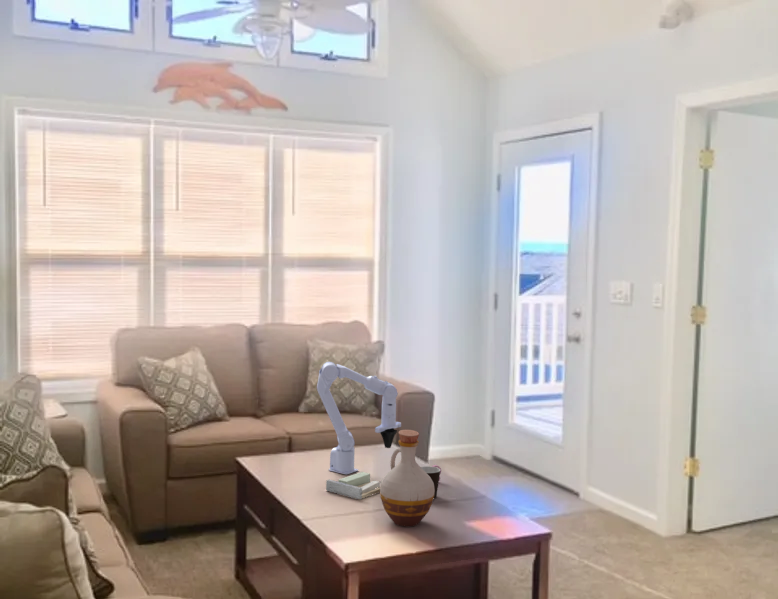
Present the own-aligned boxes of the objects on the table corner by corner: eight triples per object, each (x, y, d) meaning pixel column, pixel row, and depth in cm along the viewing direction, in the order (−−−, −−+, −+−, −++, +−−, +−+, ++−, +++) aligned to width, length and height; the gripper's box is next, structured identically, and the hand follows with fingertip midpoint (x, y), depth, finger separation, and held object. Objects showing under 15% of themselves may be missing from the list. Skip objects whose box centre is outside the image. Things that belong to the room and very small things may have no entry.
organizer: (326, 491, 295) (326, 480, 295) (355, 481, 309) (355, 471, 308) (359, 499, 286) (359, 488, 286) (387, 489, 299) (387, 478, 299)
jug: (366, 516, 269) (369, 427, 267) (412, 509, 278) (415, 422, 276) (396, 535, 252) (398, 440, 250) (444, 527, 260) (447, 435, 259)
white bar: (355, 496, 291) (355, 490, 291) (373, 486, 303) (374, 480, 303) (360, 497, 290) (360, 491, 290) (379, 488, 302) (379, 481, 302)
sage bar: (337, 490, 298) (338, 479, 297) (361, 482, 309) (361, 471, 309) (346, 492, 295) (346, 481, 295) (369, 484, 306) (370, 473, 306)
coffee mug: (444, 497, 292) (445, 469, 291) (429, 502, 286) (429, 474, 285) (420, 489, 300) (420, 463, 299) (404, 494, 294) (405, 467, 293)
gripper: (385, 418, 315) (384, 452, 316) (407, 412, 326) (406, 445, 327) (371, 415, 319) (370, 449, 320) (393, 410, 330) (392, 443, 331)
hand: (387, 447), depth 324 cm, fingers closed
